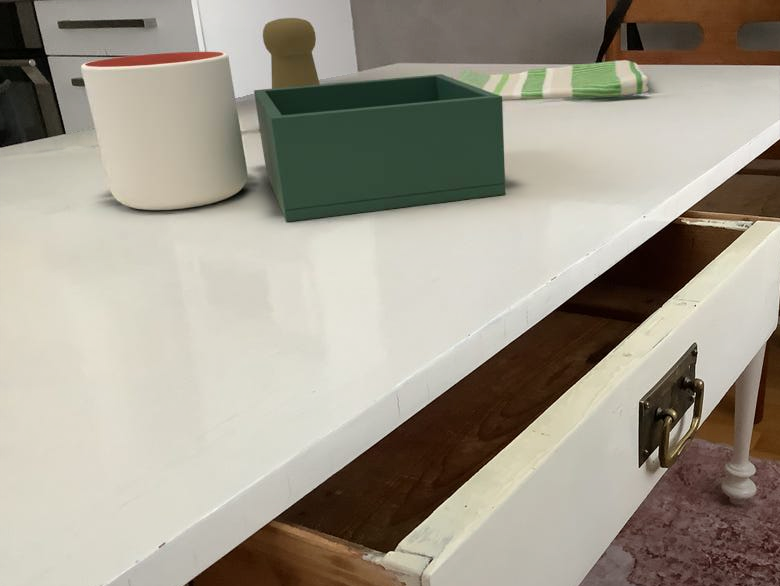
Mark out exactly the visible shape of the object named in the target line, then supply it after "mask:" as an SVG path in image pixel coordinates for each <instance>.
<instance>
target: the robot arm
mask: <svg viewBox="0 0 780 586" xmlns="http://www.w3.org/2000/svg"><path fill="white" fill-rule="evenodd" d="M11 84H12V81H11V80H10V79H5V81H3V83H1V84H0V93H2V92H4V91H5V90H8V89H9V87H10V86H11Z"/></svg>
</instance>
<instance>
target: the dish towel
mask: <svg viewBox="0 0 780 586" xmlns="http://www.w3.org/2000/svg"><path fill="white" fill-rule="evenodd" d="M457 80H459V81H461V82H464V83H467V84H469V85H472V86H475V87H477V88H480V89H483V90H485V91H488V92H491V93H493V94H496V95H499V96H502V101H509V100H510V101H513V100H514V101H515V100H539V99H566V100H580V99H581V100H582V99H599V98H600V99H601V98H613V97H614V98H615V97H622V96H630V95H639V94H642V93H647V92H648V91H650V88H649V86H648V83H649V78H648V76H647V75H645V73H644V71H643V70H642V68H640V66H639V65H638V63H636V62H634V61H631V60H627V59H622V60H612V61H611V60H609V61H603V62H591V63H582V64H573V65H567V66H559V67H551V68H549V67H548V68H547V67H545V68H535V69H530V70H529V69H528V70H524V71H522V72H519V73H501V74H500V73H499V74H487V73H479V72H476V71H473V70H469V69H467V70H466V69H465V70H463V71H461V73H460V78H458V79H457Z"/></svg>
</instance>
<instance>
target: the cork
mask: <svg viewBox="0 0 780 586" xmlns="http://www.w3.org/2000/svg"><path fill="white" fill-rule="evenodd" d="M262 40H263V44H264V47H265V49H266V50H267V52H268V53H269V54H270V59H271V61H270V63H271V64H270V65H271V89H274V88H286V87H297V86H309V85H321V84H320V79H319V76H318V72H317V68H316V63H315V60H314V57H313V50H314V49H315V46H316V41H317V37H316V32H315V28H314V26H313V25H312V23H311V22H310V21H309V20H306V19H302V18H299V17H284V18H278V19H274V20H271V21H268V22H267V23H266V24H264V27H263V29H262Z"/></svg>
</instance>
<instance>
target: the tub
mask: <svg viewBox="0 0 780 586" xmlns="http://www.w3.org/2000/svg"><path fill="white" fill-rule="evenodd" d="M253 94H254V101H255V108H256V113H257V120H258V127H259V132H260V140H261V146H262V152H263V160H264V165H265V172H266V176H267V179H268V181H269V183H270V186H271V189H272V191H273V193H274V196H275V198H276V200H277V203H278V205H279V207H280V210H281V213H282V215H283V218H284V220H285V222H286V223H288V222H289V223H290V222H298V221H306V220H313V219H322V218H328V217H329V218H330V217H337V216H344V215H352V214H353V215H354V214H360V213H361V214H362V213H368V212H376V211H384V210H391V209H392V210H393V209H401V208H407V207H408V208H409V207H416V206H424V205H433V204H439V203H446V202H447V203H448V202H454V201H463V200H471V199H472V200H473V199H479V198H487V197H496V196H502V195H506V168H505V167H506V166H505V142H504V141H505V140H504V109H503V100H502V96H499V95H496V94H493V93H491V92H488V91H485V90H483V89H480V88H477V87H475V86H472V85H469V84H467V83H464V82H461V81H459V80H458V79H455V78H453V77H450V76H448V75H445V74H443V73H439V74H427V75H417V76H404V77H403V76H402V77H392V78H381V79H369V80H358V81H347V82H346V81H345V82H333V83H323V84H320V85H309V86H297V87H286V88H274V89H272V88H263V89H254V90H253Z"/></svg>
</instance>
